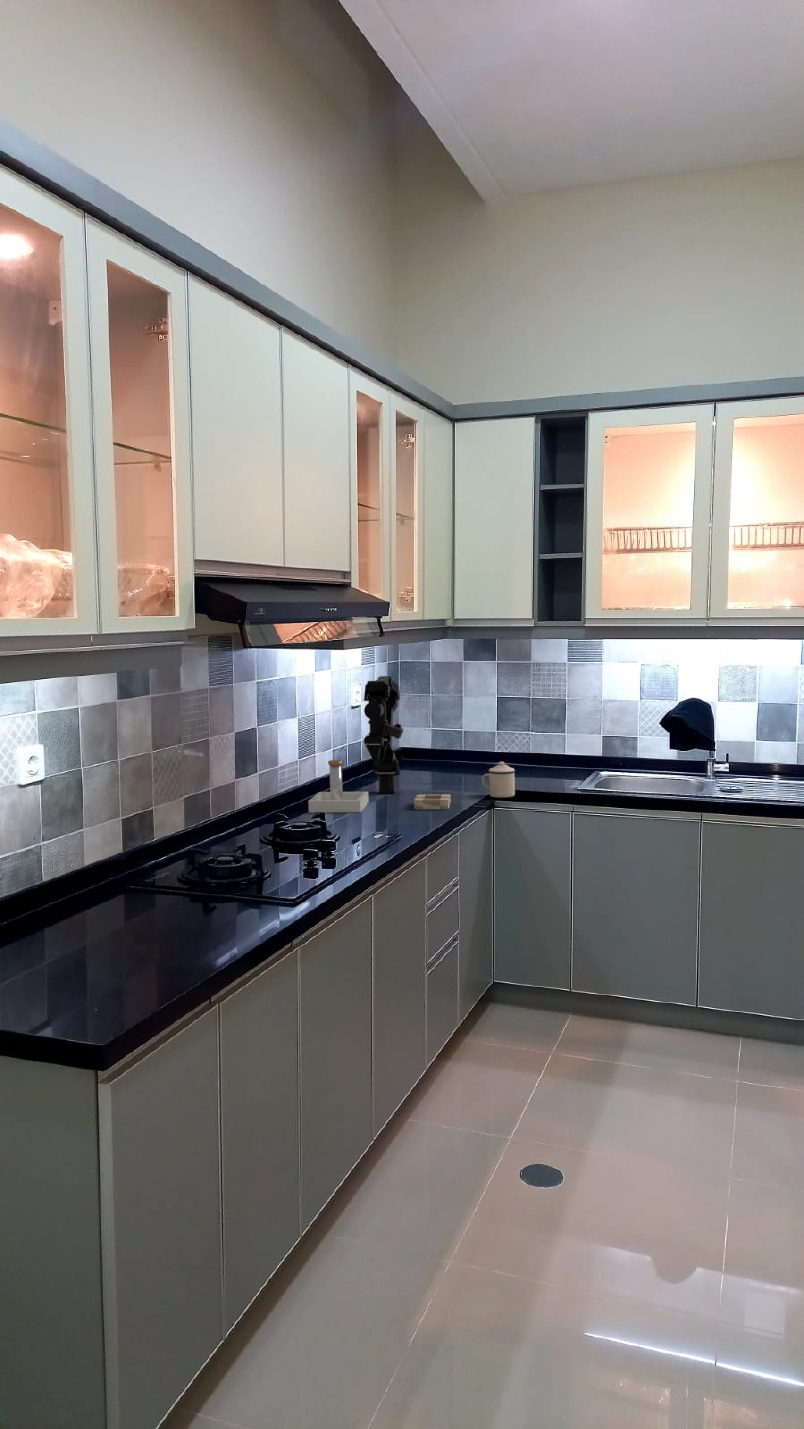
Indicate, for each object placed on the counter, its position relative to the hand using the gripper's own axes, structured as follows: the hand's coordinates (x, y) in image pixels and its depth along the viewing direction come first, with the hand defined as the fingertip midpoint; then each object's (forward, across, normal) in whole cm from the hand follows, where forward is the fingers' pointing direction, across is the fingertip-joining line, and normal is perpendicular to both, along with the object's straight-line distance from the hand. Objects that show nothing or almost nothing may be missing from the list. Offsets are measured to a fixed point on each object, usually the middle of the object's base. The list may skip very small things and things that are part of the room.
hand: (379, 762), depth 347 cm
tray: (+13, -14, +11) cm, 22 cm away
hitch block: (+13, -11, -20) cm, 26 cm away
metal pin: (+12, -15, +11) cm, 23 cm away
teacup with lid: (+13, +10, -40) cm, 43 cm away
